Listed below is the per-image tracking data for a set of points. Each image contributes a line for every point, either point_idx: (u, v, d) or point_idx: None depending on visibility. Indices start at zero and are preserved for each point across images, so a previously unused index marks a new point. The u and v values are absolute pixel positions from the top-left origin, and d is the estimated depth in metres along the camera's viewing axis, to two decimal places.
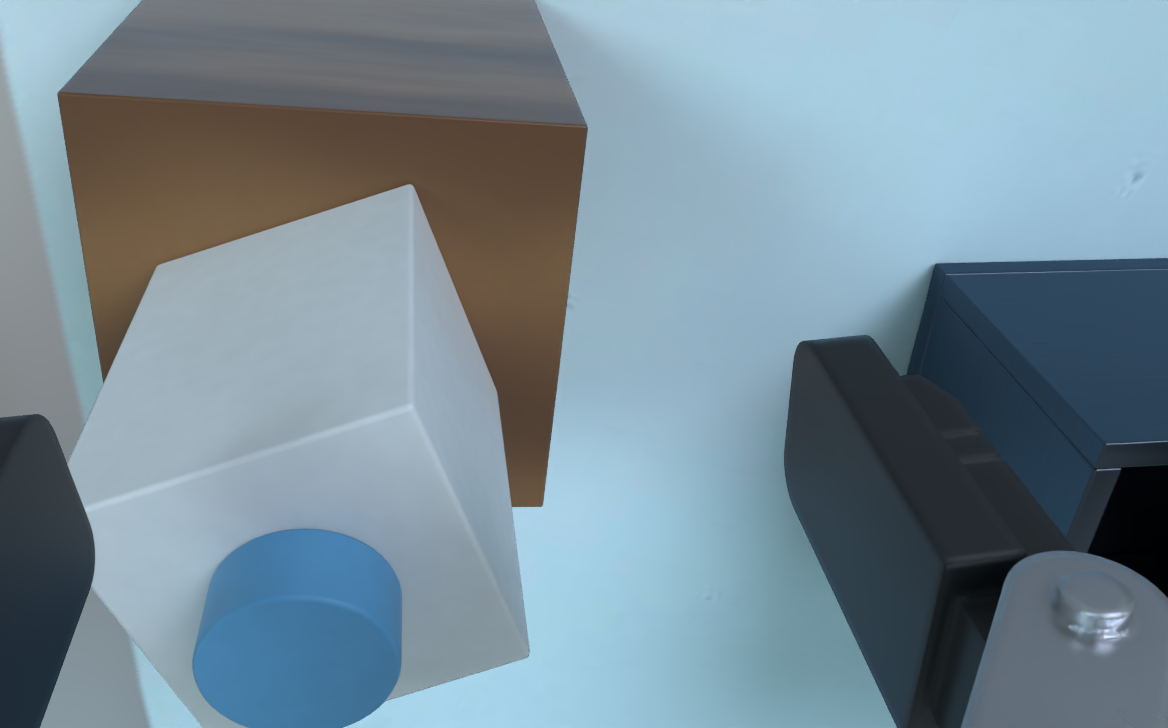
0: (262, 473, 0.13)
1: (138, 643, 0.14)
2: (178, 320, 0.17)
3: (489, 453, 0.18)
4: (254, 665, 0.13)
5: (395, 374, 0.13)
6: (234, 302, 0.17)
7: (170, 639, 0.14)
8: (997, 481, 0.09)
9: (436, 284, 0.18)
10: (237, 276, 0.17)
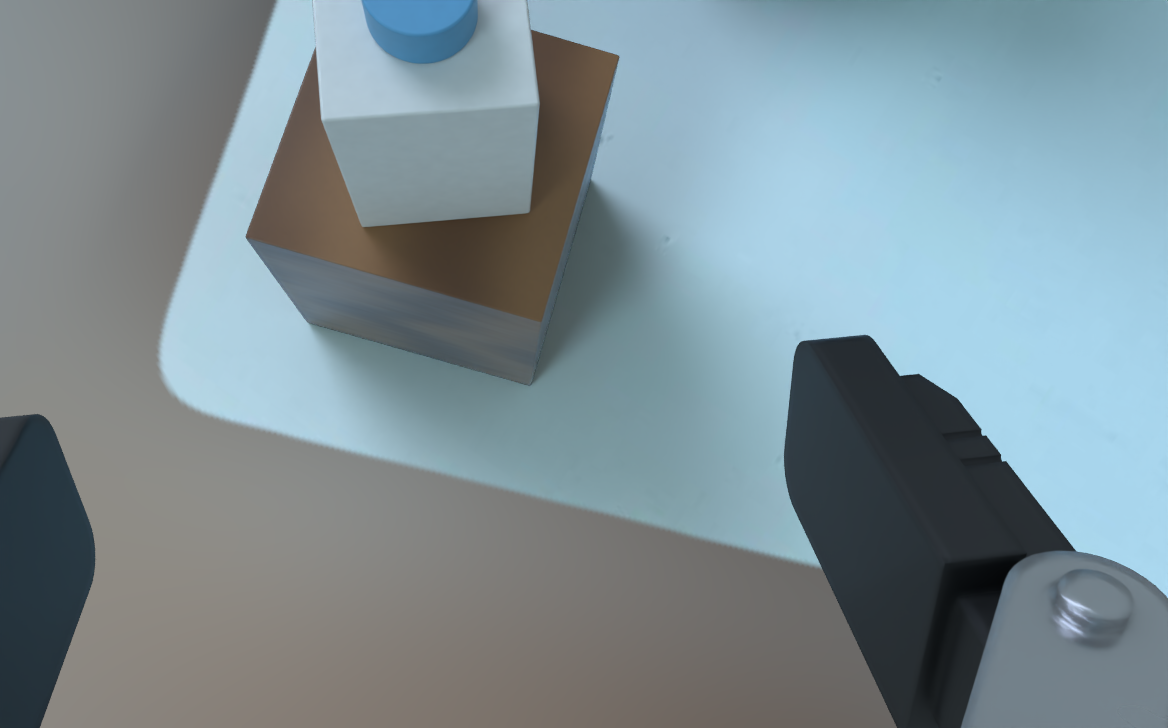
0: (324, 5, 0.24)
1: (426, 109, 0.23)
2: None
3: None
4: (404, 1, 0.23)
5: None
6: None
7: (430, 93, 0.24)
8: (997, 481, 0.09)
9: None
10: None
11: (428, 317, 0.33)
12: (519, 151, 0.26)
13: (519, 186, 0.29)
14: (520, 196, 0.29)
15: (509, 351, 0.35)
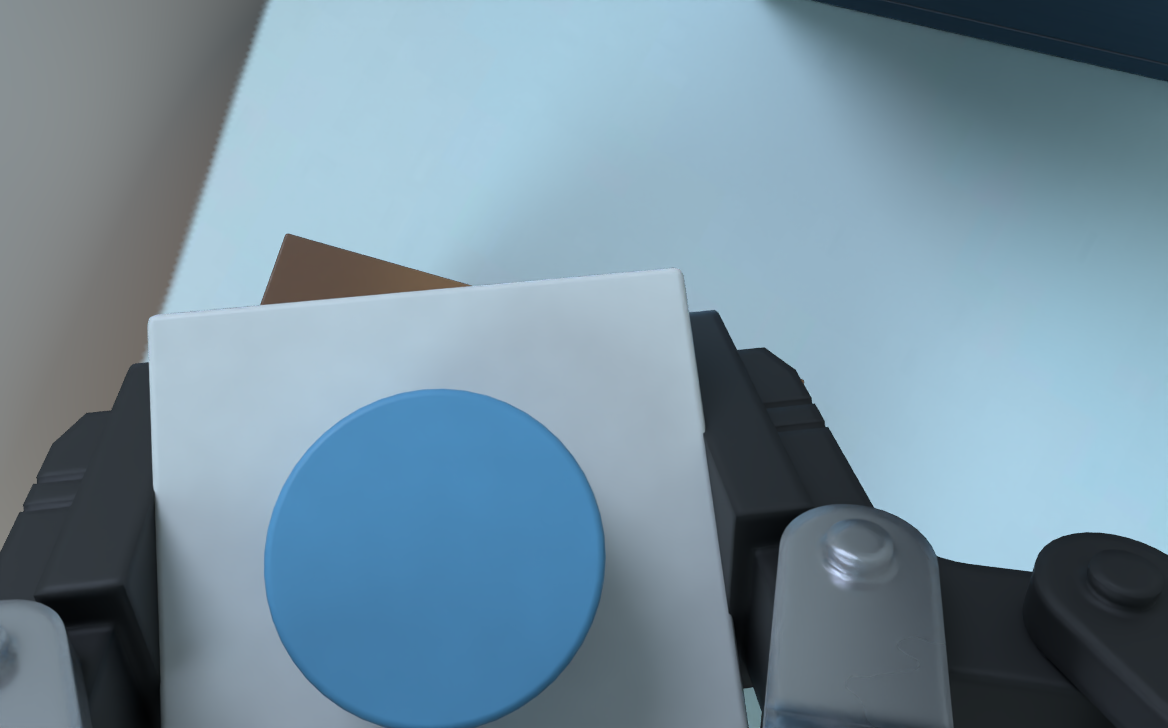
0: (185, 545, 0.09)
1: None
2: None
3: None
4: (398, 619, 0.08)
5: None
6: None
7: None
8: (814, 445, 0.10)
9: None
10: None
11: None
12: None
13: None
14: None
15: None
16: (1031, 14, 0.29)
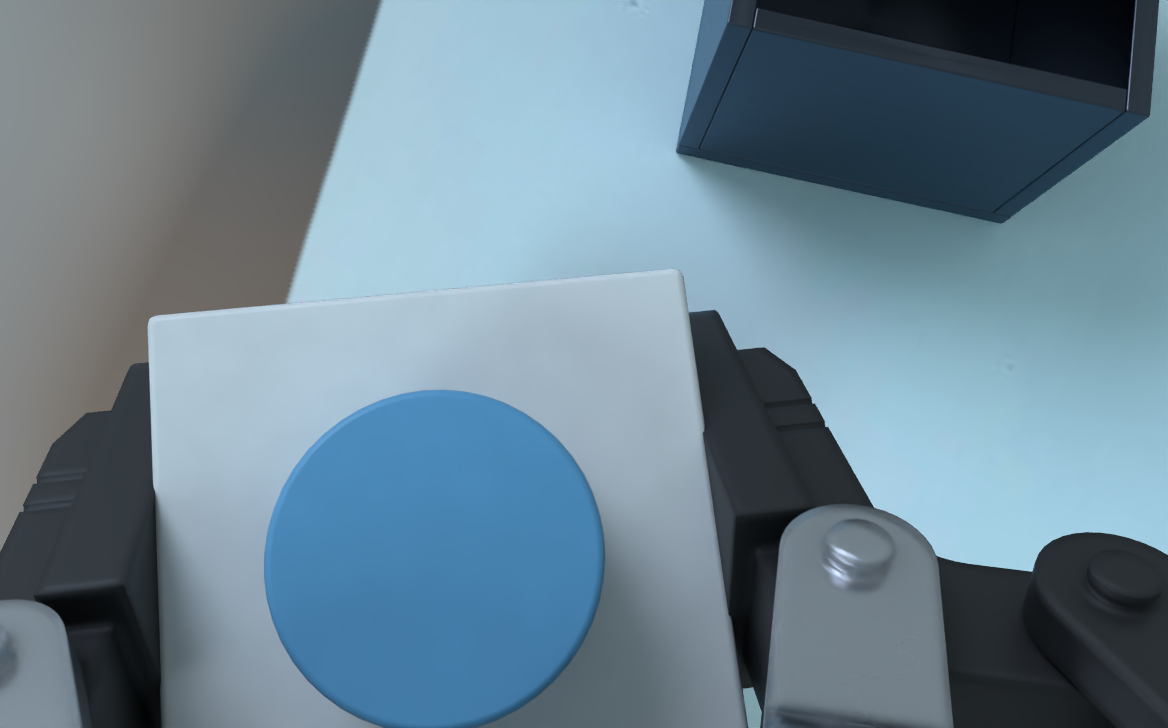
0: (187, 545, 0.09)
1: None
2: None
3: None
4: (398, 620, 0.08)
5: None
6: None
7: None
8: (814, 445, 0.10)
9: None
10: None
11: None
12: None
13: None
14: None
15: None
16: (876, 177, 0.40)
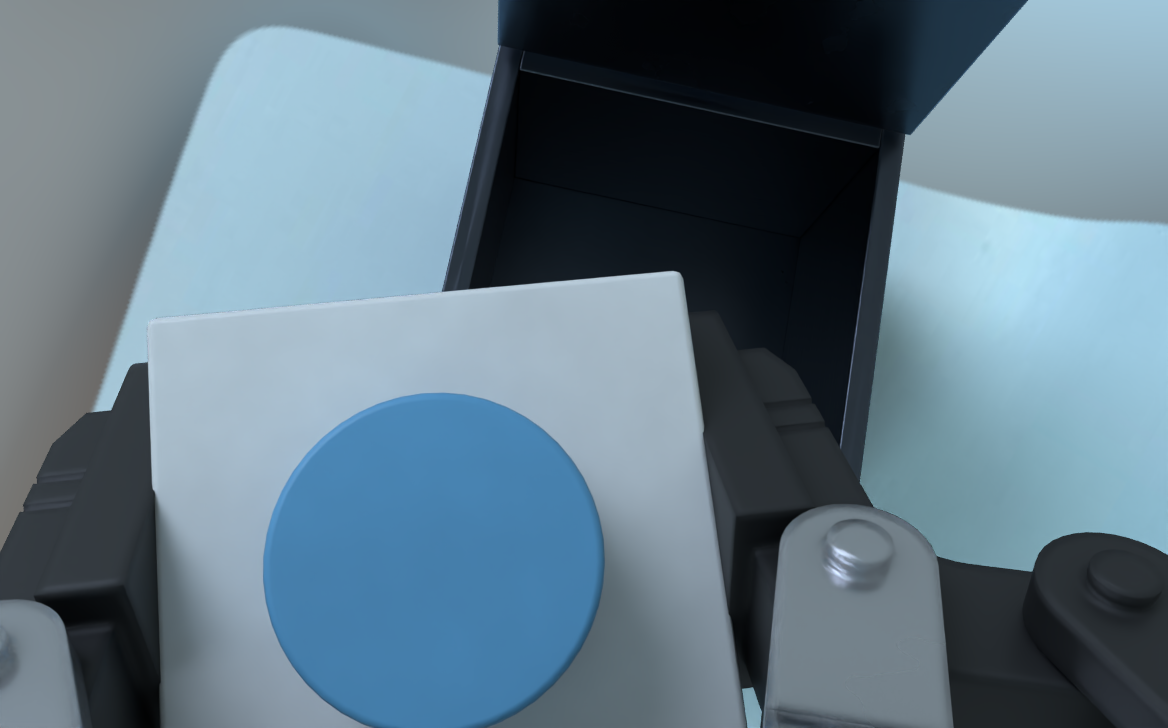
0: (186, 549, 0.09)
1: None
2: None
3: None
4: (397, 624, 0.08)
5: None
6: None
7: None
8: (815, 445, 0.10)
9: None
10: None
11: None
12: None
13: None
14: None
15: None
16: None
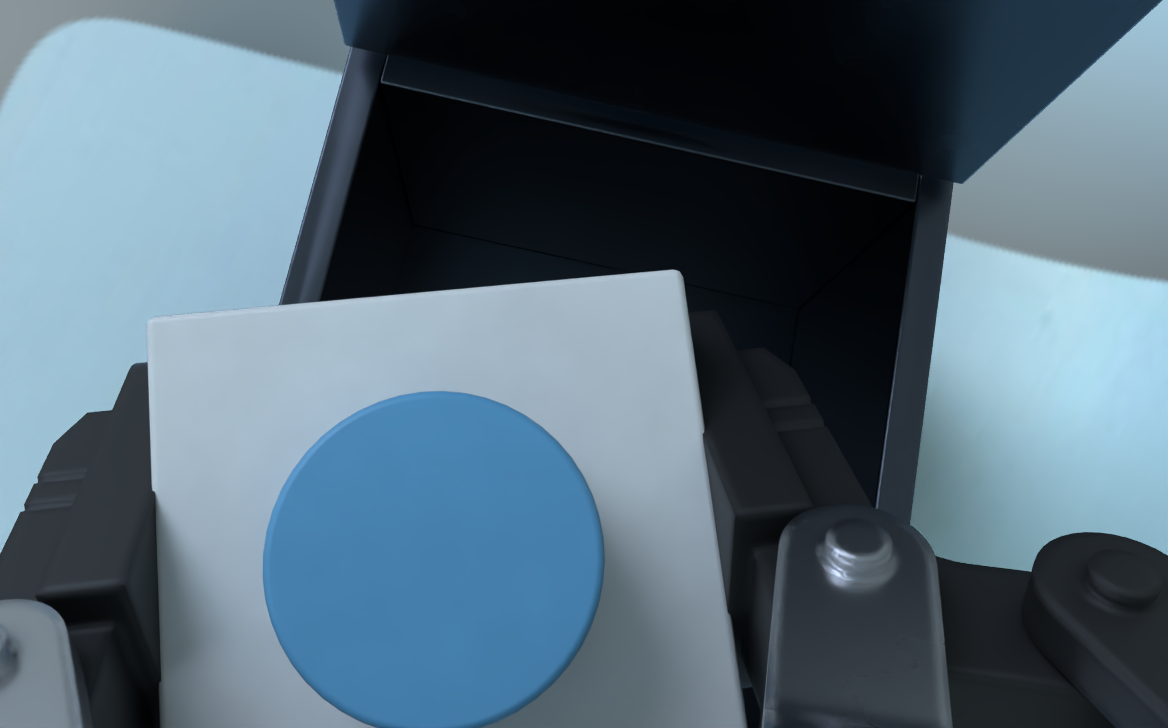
0: (185, 547, 0.09)
1: None
2: None
3: None
4: (397, 622, 0.08)
5: None
6: None
7: None
8: (814, 445, 0.10)
9: None
10: None
11: None
12: None
13: None
14: None
15: None
16: None
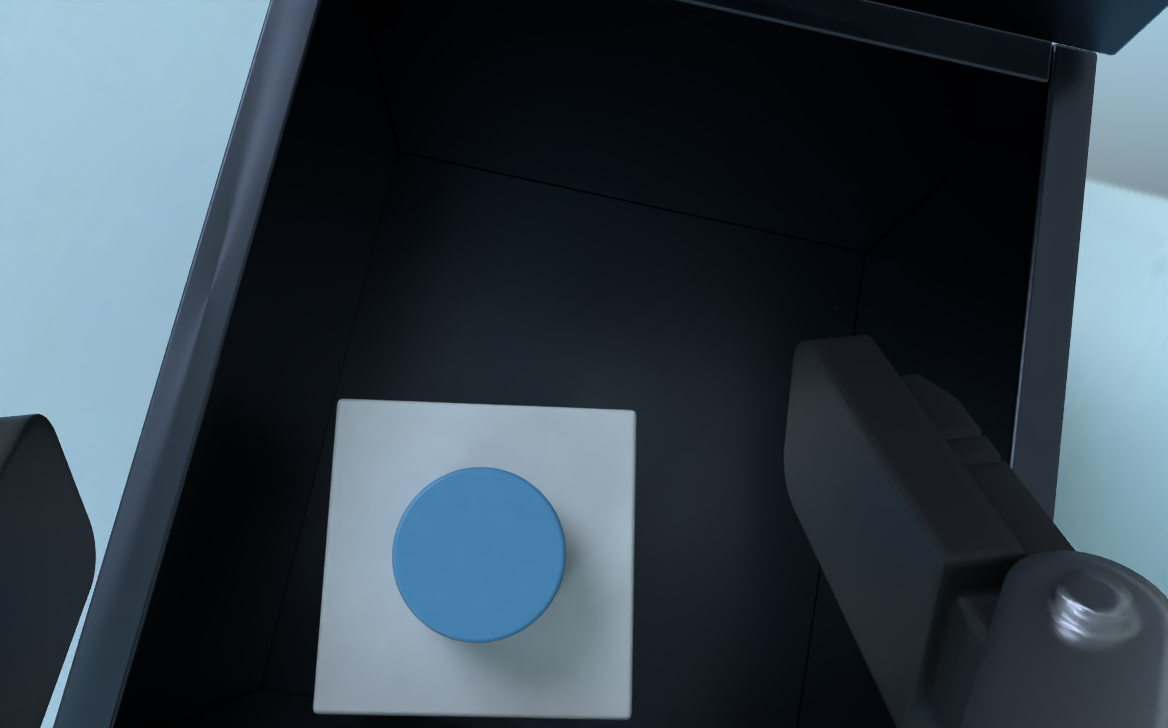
0: (344, 528, 0.17)
1: (466, 712, 0.16)
2: None
3: None
4: (456, 583, 0.15)
5: None
6: None
7: (474, 685, 0.16)
8: (997, 481, 0.09)
9: None
10: None
11: None
12: None
13: None
14: None
15: None
16: None
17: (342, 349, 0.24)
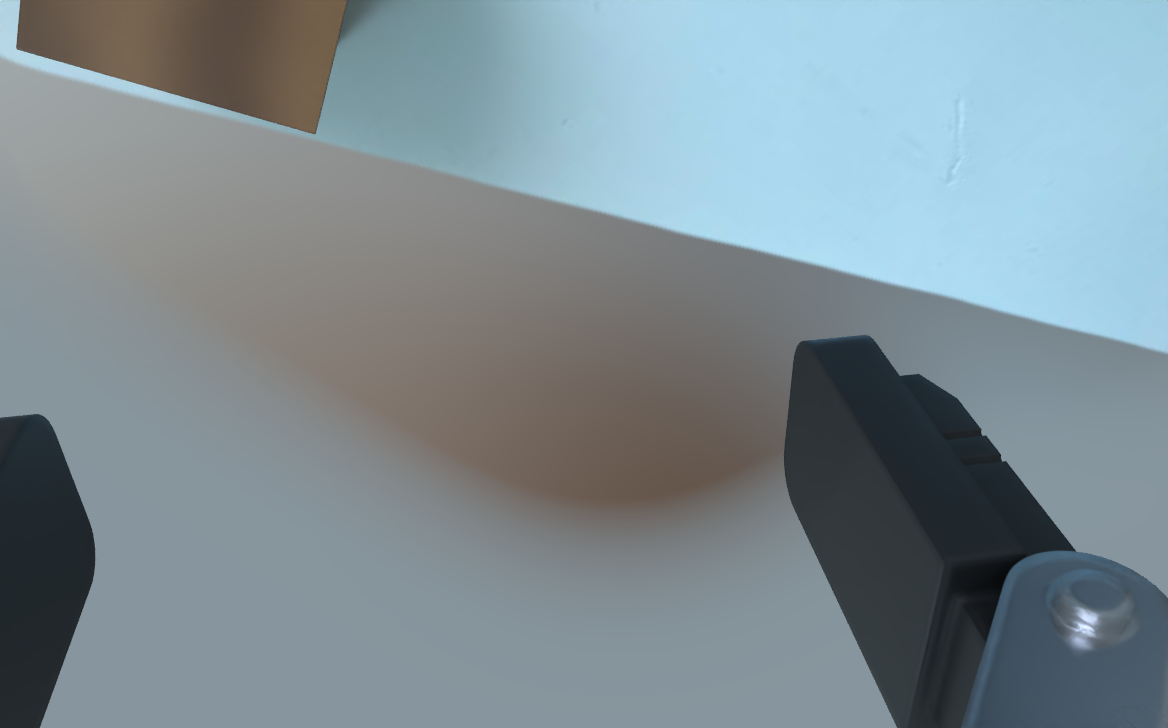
0: None
1: None
2: None
3: None
4: None
5: None
6: None
7: None
8: (997, 481, 0.09)
9: None
10: None
11: None
12: None
13: None
14: None
15: None
16: None
17: None
